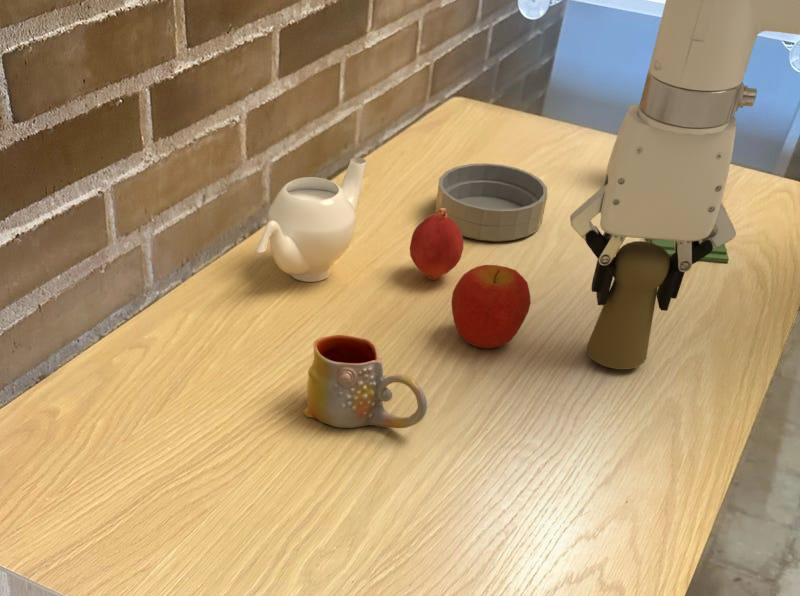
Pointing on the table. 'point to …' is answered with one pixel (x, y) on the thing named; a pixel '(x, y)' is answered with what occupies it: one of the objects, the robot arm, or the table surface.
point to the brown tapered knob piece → (629, 306)
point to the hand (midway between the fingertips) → (631, 299)
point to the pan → (492, 201)
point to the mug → (354, 385)
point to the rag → (714, 256)
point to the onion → (436, 245)
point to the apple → (490, 305)
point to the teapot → (313, 223)
